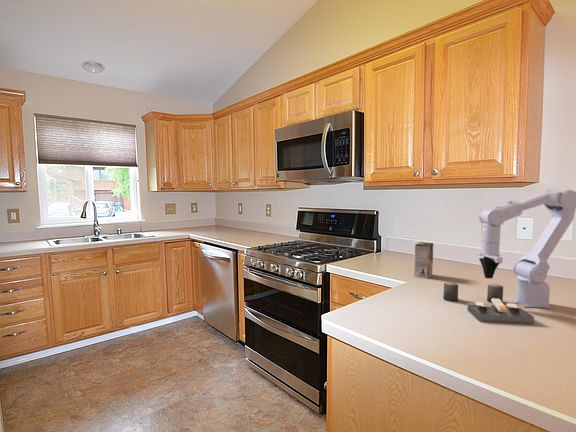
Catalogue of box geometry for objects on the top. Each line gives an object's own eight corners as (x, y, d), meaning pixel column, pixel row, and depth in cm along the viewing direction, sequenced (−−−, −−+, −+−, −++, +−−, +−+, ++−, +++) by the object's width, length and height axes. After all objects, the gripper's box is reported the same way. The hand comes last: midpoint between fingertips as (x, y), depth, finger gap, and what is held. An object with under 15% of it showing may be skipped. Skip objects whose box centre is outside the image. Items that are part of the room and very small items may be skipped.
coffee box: (419, 272, 168) (420, 241, 167) (432, 274, 164) (433, 243, 163) (413, 276, 161) (415, 244, 159) (427, 278, 157) (428, 245, 155)
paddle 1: (475, 304, 114) (475, 301, 114) (483, 305, 114) (483, 301, 114) (483, 306, 108) (483, 302, 108) (491, 306, 108) (491, 303, 108)
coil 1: (454, 297, 130) (455, 282, 129) (459, 302, 125) (460, 285, 124) (441, 297, 131) (442, 281, 130) (445, 301, 126) (446, 285, 125)
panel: (516, 312, 114) (516, 303, 114) (533, 324, 105) (534, 314, 104) (467, 310, 117) (467, 301, 116) (479, 321, 107) (480, 311, 106)
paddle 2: (506, 306, 113) (506, 303, 113) (514, 306, 112) (514, 303, 112) (516, 308, 107) (516, 304, 107) (524, 308, 106) (524, 304, 107)
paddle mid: (491, 300, 113) (491, 298, 113) (498, 301, 113) (499, 298, 113) (499, 311, 108) (499, 308, 107) (507, 312, 107) (507, 309, 107)
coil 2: (498, 299, 128) (499, 283, 127) (505, 304, 123) (506, 287, 122) (484, 299, 128) (485, 283, 128) (490, 303, 123) (491, 287, 123)
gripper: (470, 238, 129) (469, 272, 130) (488, 244, 114) (485, 283, 116) (490, 238, 128) (488, 273, 129) (509, 245, 114) (507, 283, 115)
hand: (488, 277), depth 122 cm, fingers closed
